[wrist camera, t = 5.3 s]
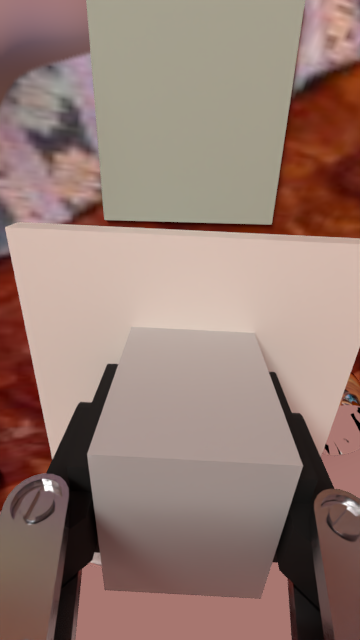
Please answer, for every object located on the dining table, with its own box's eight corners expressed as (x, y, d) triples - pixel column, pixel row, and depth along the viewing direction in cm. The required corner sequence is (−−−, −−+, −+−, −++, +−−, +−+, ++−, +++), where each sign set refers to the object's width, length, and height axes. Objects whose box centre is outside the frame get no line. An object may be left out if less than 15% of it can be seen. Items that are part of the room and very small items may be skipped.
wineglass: (254, 360, 33) (286, 456, 23) (269, 311, 31) (313, 392, 20) (308, 367, 34) (365, 465, 23) (327, 319, 31) (401, 404, 20)
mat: (270, 223, 27) (271, 224, 27) (105, 218, 27) (104, 220, 27) (302, 1, 21) (305, -2, 20) (88, -3, 21) (85, -7, 20)
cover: (301, 479, 15) (362, 654, 10) (63, 466, 15) (-5, 633, 10) (379, 239, 10) (597, 334, 4) (18, 222, 10) (-176, 295, 5)
